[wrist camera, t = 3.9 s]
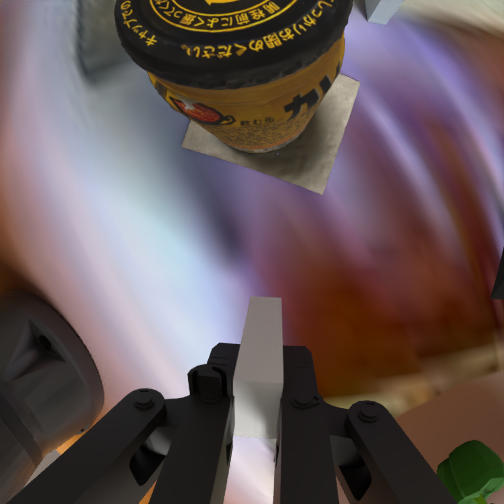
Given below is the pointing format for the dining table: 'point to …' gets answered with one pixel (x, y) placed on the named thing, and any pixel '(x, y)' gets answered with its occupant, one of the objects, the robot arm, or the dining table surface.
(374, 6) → the bay
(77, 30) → the dining table surface
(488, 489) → the bell pepper
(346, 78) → the condiment
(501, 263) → the black angular block
